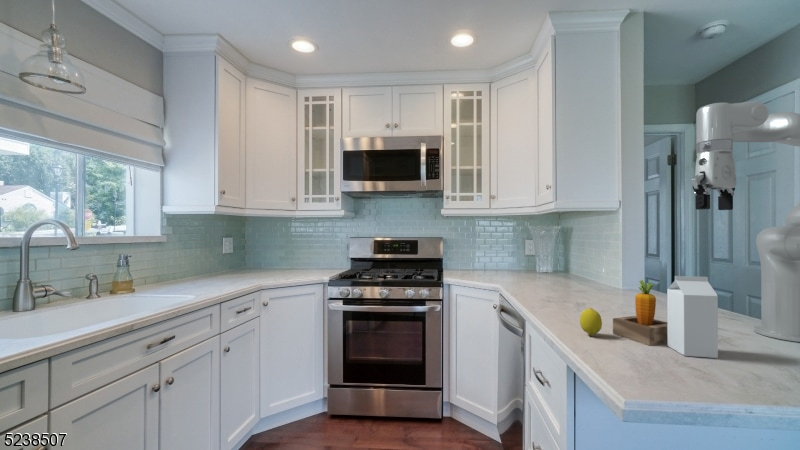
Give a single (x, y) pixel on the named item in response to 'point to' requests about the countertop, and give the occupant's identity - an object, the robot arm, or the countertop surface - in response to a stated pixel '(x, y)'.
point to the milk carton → (692, 317)
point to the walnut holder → (641, 330)
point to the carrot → (645, 305)
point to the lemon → (590, 321)
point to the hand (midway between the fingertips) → (714, 209)
